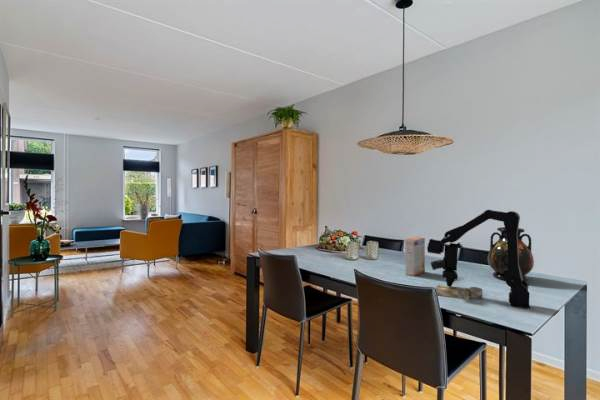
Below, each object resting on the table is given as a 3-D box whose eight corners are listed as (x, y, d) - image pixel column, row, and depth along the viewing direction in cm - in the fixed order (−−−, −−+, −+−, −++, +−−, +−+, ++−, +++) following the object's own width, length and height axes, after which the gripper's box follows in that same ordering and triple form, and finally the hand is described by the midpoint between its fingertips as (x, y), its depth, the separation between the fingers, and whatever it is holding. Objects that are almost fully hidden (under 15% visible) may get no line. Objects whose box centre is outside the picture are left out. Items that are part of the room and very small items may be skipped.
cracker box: (415, 270, 196) (415, 236, 195) (425, 272, 191) (425, 237, 191) (404, 274, 186) (404, 238, 185) (414, 276, 182) (414, 239, 181)
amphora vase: (488, 280, 174) (489, 229, 173) (486, 271, 193) (487, 225, 192) (537, 286, 164) (538, 231, 163) (529, 276, 183) (530, 227, 182)
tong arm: (481, 296, 146) (481, 287, 146) (482, 299, 141) (483, 290, 141) (437, 291, 154) (437, 282, 154) (437, 294, 149) (437, 285, 149)
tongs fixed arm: (468, 297, 146) (468, 289, 146) (468, 299, 143) (469, 291, 143) (435, 293, 152) (435, 285, 152) (435, 294, 149) (435, 287, 149)
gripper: (433, 250, 164) (431, 280, 165) (431, 257, 147) (429, 291, 148) (457, 253, 159) (455, 283, 160) (458, 261, 142) (456, 295, 143)
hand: (448, 288), depth 153 cm, fingers closed
